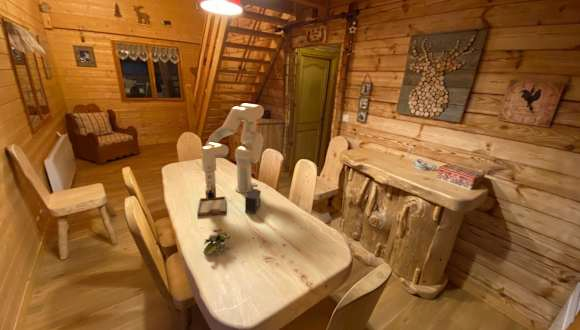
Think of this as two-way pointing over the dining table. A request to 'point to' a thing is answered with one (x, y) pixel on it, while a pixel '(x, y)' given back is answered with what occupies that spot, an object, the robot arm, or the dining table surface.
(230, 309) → the dining table surface
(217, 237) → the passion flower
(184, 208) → the dining table surface
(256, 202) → the small box
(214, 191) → the walnut cube
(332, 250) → the dining table surface
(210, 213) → the walnut tray
